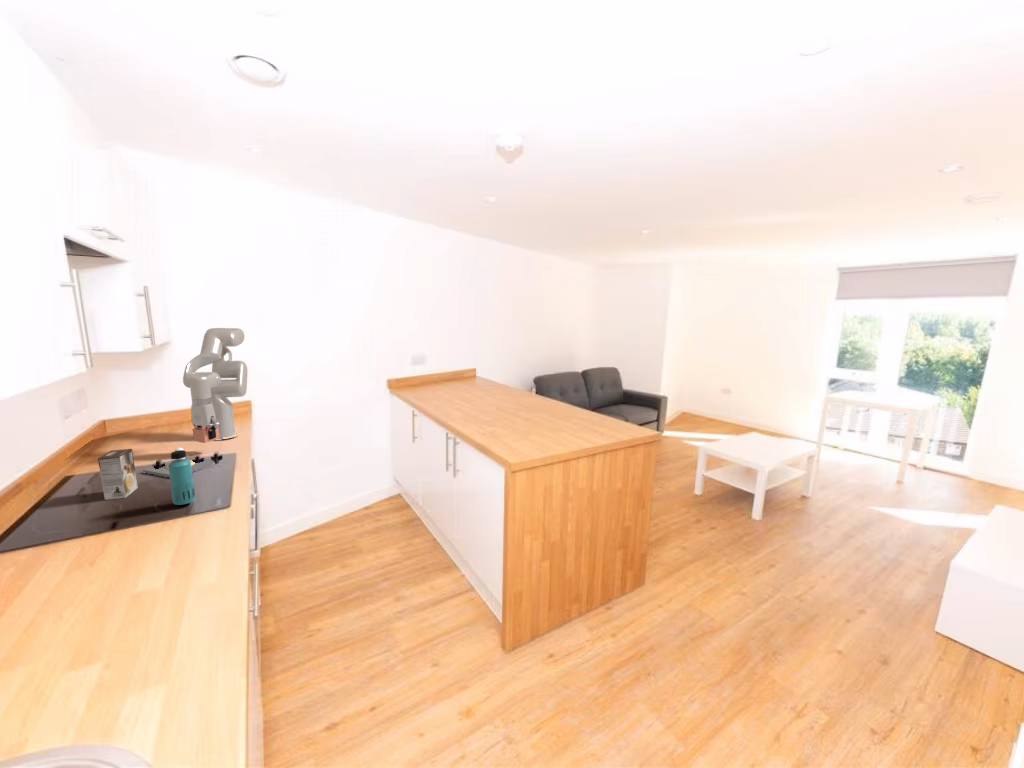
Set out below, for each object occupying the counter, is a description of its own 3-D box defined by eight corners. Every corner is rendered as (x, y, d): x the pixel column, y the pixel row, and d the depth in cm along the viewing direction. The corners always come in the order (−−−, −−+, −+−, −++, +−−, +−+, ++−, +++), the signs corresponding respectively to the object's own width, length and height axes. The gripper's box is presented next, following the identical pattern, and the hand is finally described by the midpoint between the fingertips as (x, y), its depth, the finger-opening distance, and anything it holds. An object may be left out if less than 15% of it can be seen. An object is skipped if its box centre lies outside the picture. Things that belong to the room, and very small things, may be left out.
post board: (143, 473, 170) (140, 451, 169) (187, 458, 188) (185, 439, 186) (174, 478, 166) (172, 457, 164) (217, 463, 183) (215, 443, 181)
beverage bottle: (183, 510, 141) (176, 455, 138) (167, 507, 142) (160, 453, 139) (200, 501, 147) (195, 449, 144) (185, 499, 149) (179, 447, 145)
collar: (193, 441, 192) (192, 429, 191) (208, 436, 199) (206, 424, 197) (205, 443, 190) (203, 430, 189) (219, 438, 197) (218, 426, 196)
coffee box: (117, 490, 155) (111, 449, 152) (138, 487, 157) (132, 448, 154) (103, 500, 146) (97, 458, 144) (126, 497, 149) (120, 456, 146)
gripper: (179, 401, 189) (184, 437, 193) (208, 405, 185) (212, 442, 188) (196, 397, 196) (200, 432, 200) (224, 401, 192) (227, 437, 196)
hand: (206, 437), depth 194 cm, fingers closed on collar, 7 cm apart
